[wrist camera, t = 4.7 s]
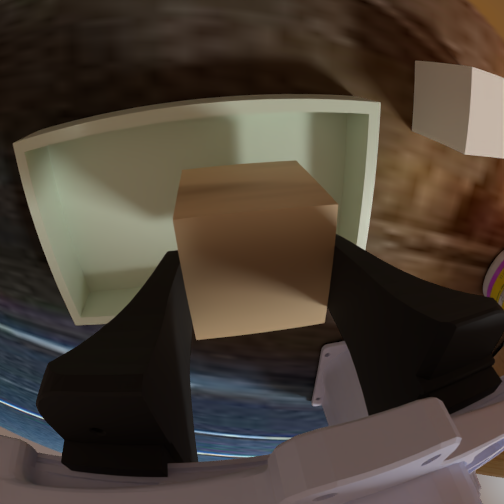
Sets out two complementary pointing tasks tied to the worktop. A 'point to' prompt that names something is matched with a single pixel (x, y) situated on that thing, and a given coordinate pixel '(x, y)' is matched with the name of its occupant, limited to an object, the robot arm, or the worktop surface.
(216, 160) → the tote tray
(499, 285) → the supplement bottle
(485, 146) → the cream box
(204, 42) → the worktop surface
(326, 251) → the oak block
